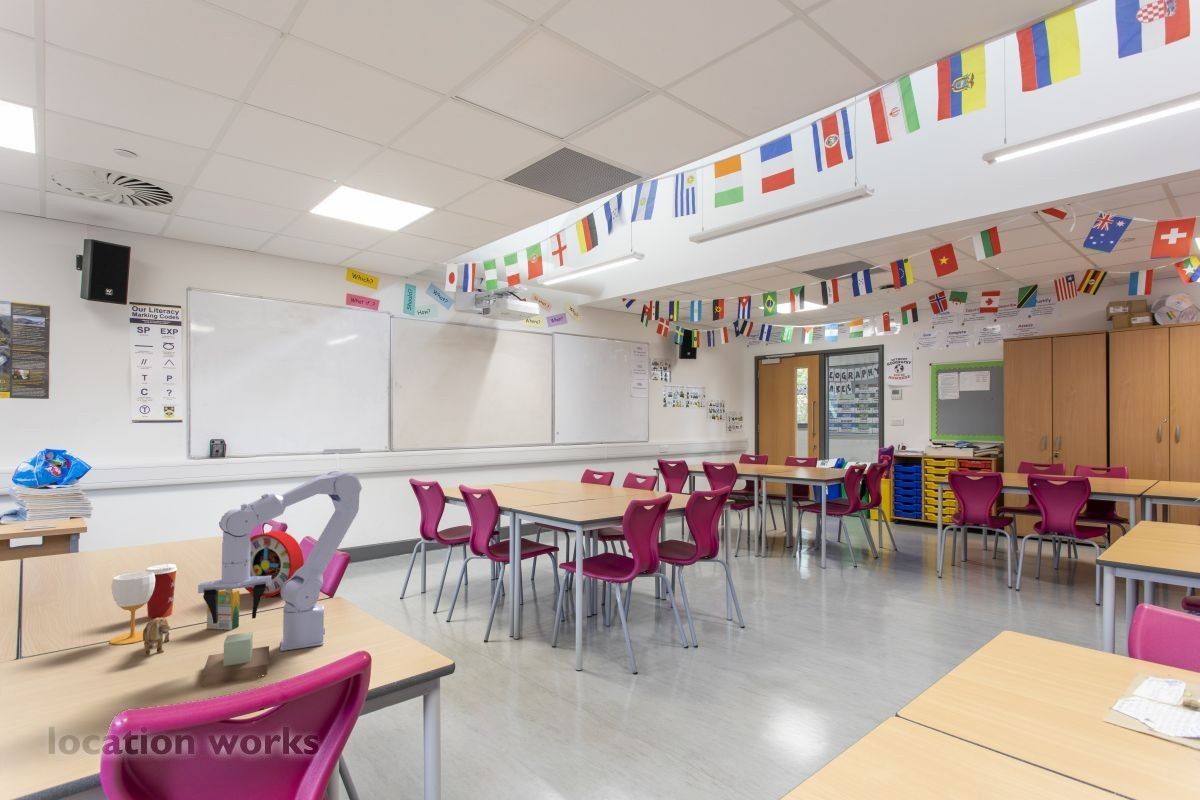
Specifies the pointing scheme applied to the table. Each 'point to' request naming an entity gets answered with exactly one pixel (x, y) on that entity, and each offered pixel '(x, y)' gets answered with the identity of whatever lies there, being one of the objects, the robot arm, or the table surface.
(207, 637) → the table surface
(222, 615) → the crayon box
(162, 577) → the paper cup
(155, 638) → the tan animal figurine
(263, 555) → the toy clock
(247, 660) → the sage cube
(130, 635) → the cup
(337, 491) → the robot arm
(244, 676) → the walnut block
